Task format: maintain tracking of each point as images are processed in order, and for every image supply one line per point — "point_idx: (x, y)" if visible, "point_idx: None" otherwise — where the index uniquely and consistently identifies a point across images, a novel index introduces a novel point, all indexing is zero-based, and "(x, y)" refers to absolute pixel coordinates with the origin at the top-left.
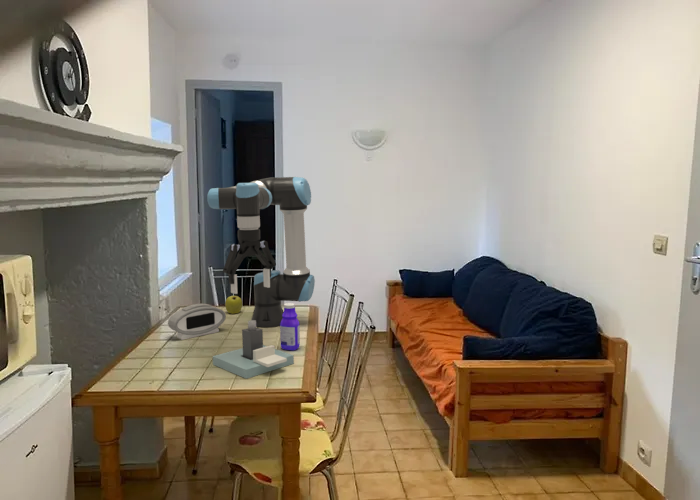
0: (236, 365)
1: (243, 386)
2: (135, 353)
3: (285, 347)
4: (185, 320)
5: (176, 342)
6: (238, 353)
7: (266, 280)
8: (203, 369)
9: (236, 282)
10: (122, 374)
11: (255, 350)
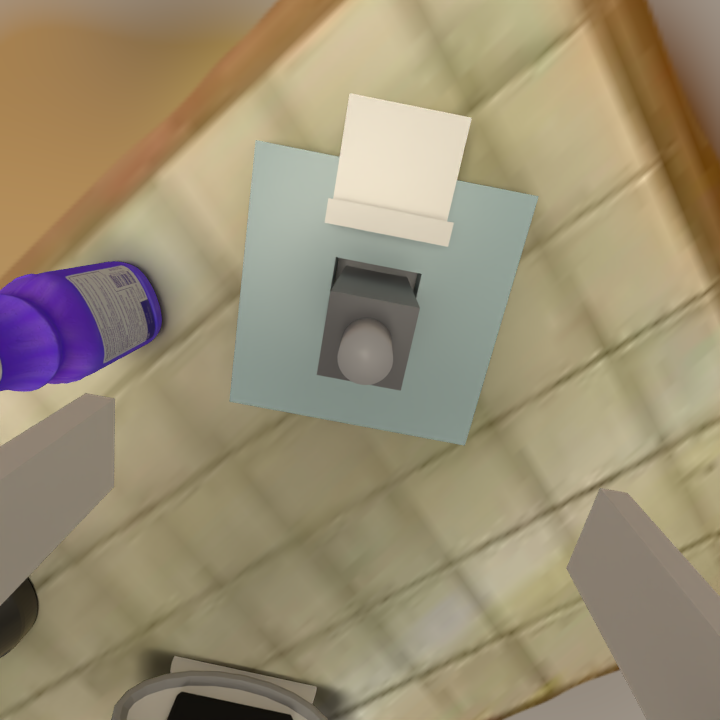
0: (510, 277)
1: (604, 139)
2: (500, 698)
3: (156, 304)
4: None
5: (348, 680)
6: None
7: (50, 485)
8: (517, 419)
9: (711, 611)
10: None
11: (444, 231)
